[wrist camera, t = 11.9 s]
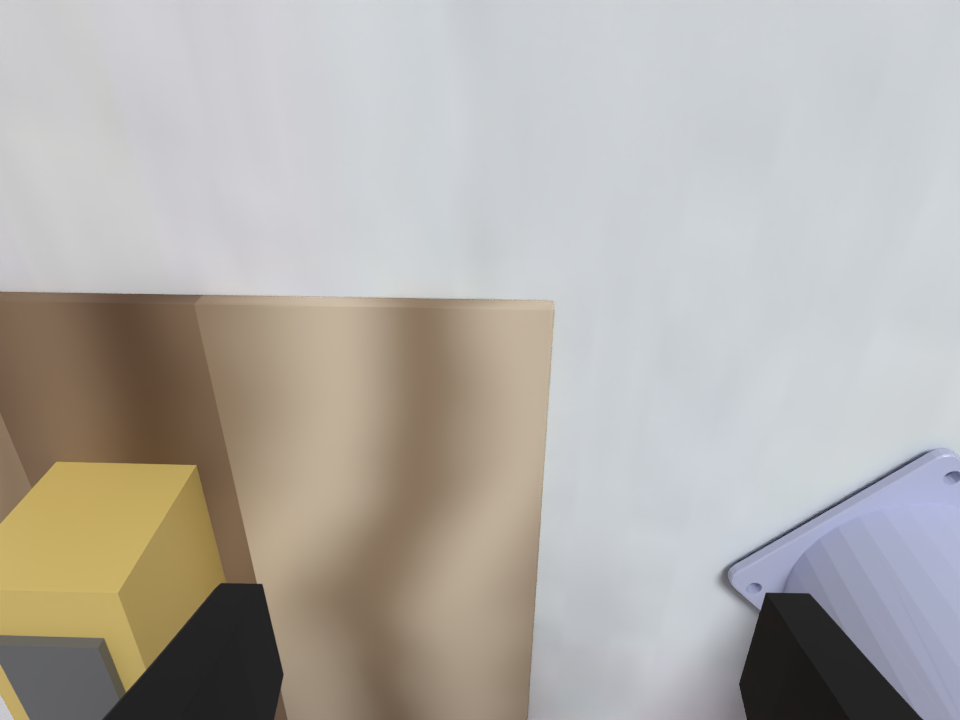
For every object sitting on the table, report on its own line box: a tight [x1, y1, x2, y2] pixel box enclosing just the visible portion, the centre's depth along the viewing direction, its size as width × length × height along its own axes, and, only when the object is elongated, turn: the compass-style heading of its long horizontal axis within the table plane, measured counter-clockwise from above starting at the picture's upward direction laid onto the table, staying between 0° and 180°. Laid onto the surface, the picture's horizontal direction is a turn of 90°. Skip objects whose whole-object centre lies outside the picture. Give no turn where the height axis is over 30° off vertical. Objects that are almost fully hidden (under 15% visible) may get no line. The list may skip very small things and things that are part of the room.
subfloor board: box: [0, 292, 555, 720], centre depth 24 cm, size 19×20×1 cm
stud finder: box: [0, 462, 226, 720], centre depth 21 cm, size 4×9×5 cm, turn 0°
